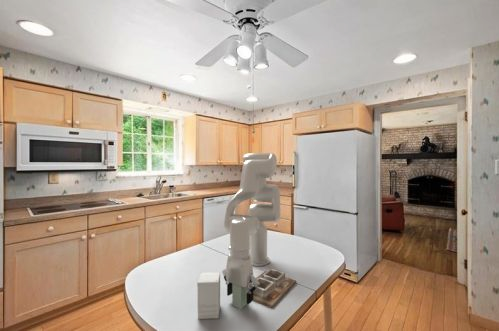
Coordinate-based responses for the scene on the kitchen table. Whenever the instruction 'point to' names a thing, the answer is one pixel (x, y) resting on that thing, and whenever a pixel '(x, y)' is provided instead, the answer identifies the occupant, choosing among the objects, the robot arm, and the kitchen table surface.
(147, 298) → the kitchen table surface
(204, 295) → the supplement box
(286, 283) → the socket board
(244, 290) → the plug
